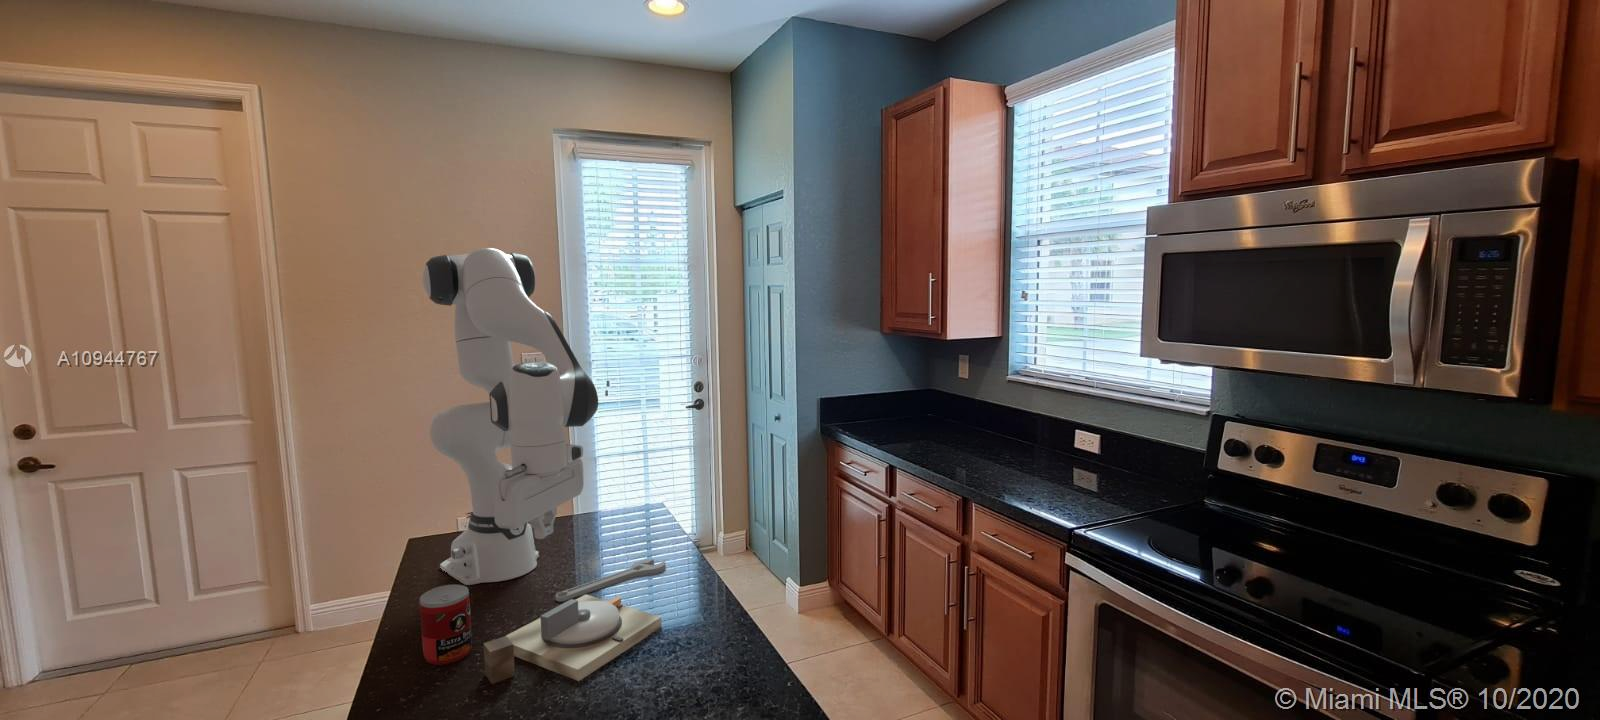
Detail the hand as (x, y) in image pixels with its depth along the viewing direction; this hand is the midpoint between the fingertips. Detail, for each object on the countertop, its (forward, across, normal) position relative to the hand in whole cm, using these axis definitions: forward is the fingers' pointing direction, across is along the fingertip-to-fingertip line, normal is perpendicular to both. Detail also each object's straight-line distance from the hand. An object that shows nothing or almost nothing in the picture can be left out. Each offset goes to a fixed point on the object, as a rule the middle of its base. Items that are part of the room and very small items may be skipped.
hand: (544, 536), depth 116 cm
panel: (+21, +5, -3) cm, 22 cm away
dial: (+19, +5, -3) cm, 20 cm away
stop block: (+21, -8, +4) cm, 23 cm away
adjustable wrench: (+22, +29, +4) cm, 36 cm away
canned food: (+21, -4, +17) cm, 28 cm away
